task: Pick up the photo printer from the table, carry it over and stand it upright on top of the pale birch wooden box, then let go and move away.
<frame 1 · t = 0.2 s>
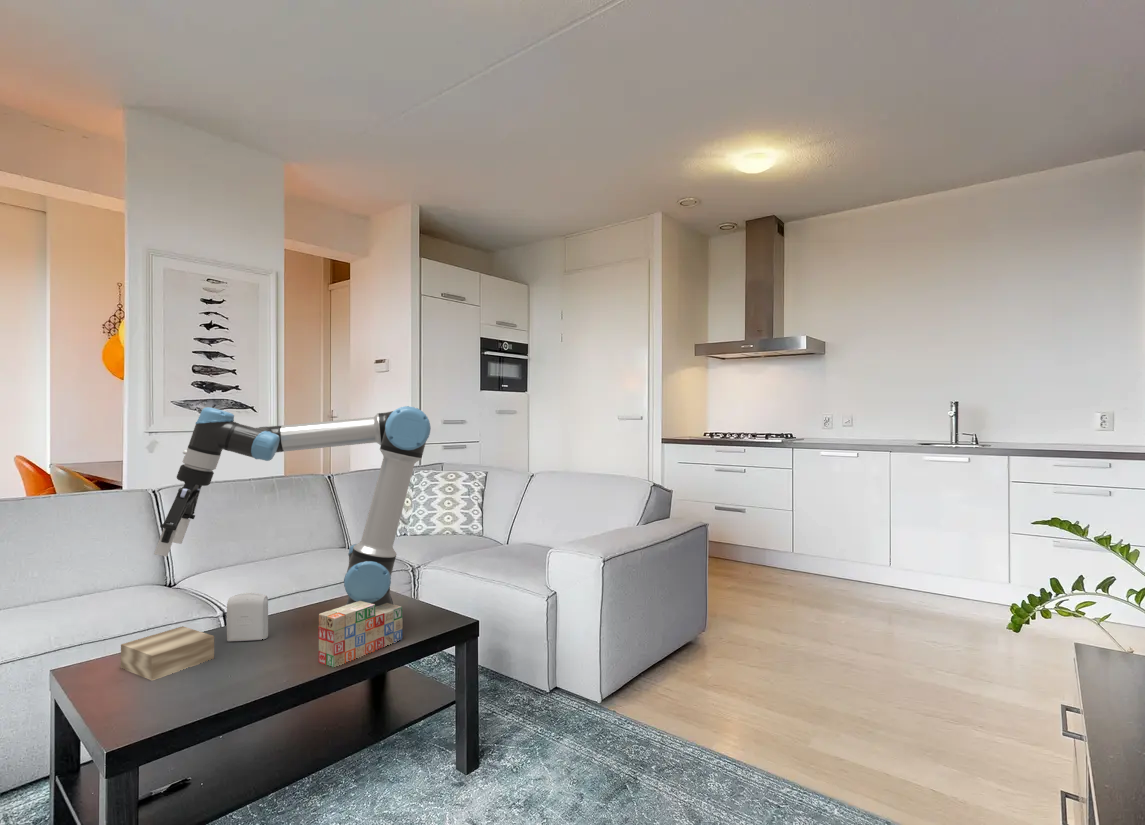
hand: (168, 548, 148), 27 cm above the table, tool tilted 15°, fingers open, 13 cm apart
stack of blocks: (362, 652, 152), on the table
birch box: (168, 664, 144), on the table
photo printer: (247, 639, 160), on the table
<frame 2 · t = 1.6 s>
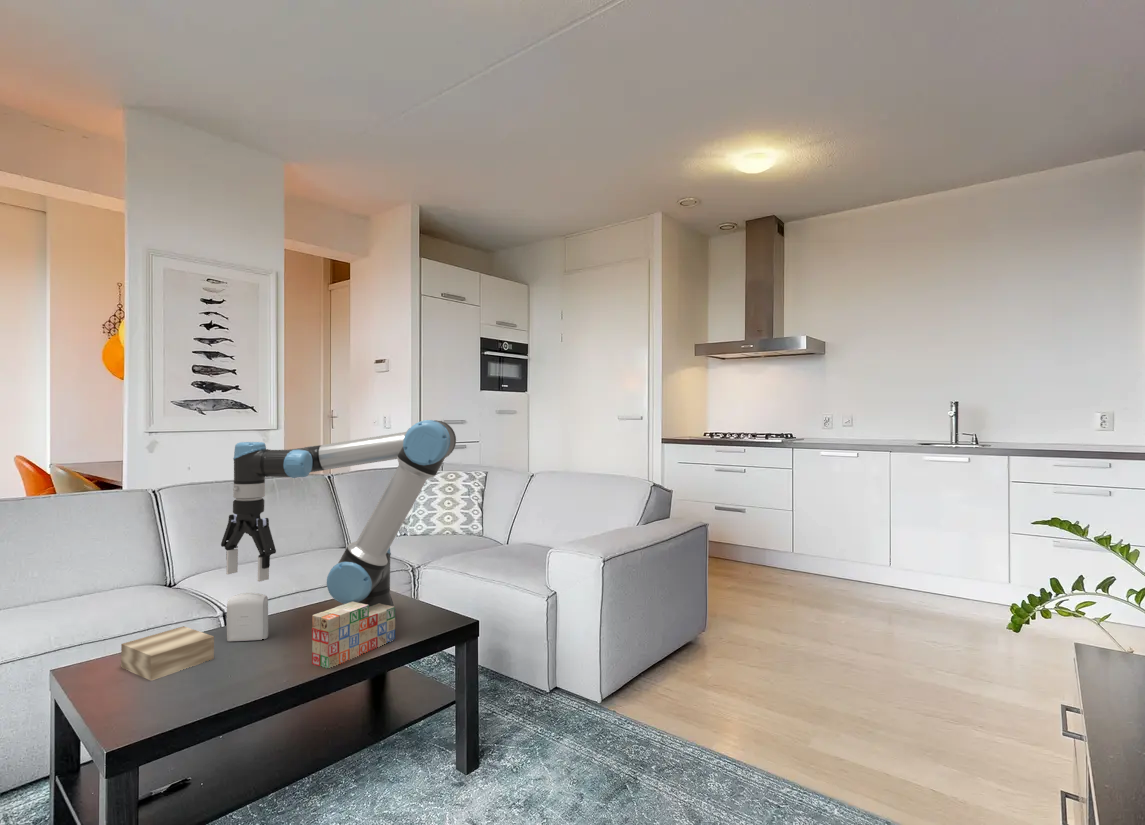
hand: (247, 576, 160), 17 cm above the table, tool pointing down, fingers open, 13 cm apart
stack of blocks: (355, 652, 152), on the table
everything else where it was.
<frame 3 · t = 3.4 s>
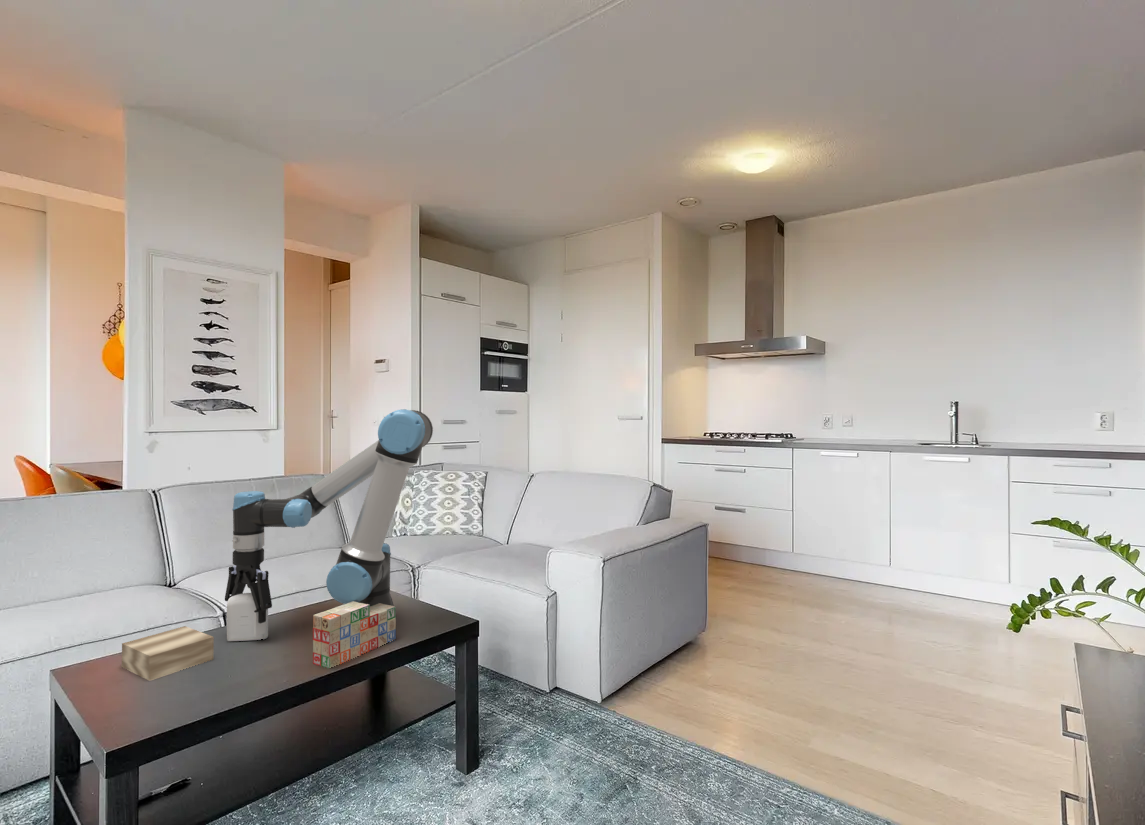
hand: (247, 631, 160), 2 cm above the table, tool pointing down, fingers closed on photo printer, 9 cm apart
photo printer: (247, 639, 160), on the table, touching gripper
everything else where it was.
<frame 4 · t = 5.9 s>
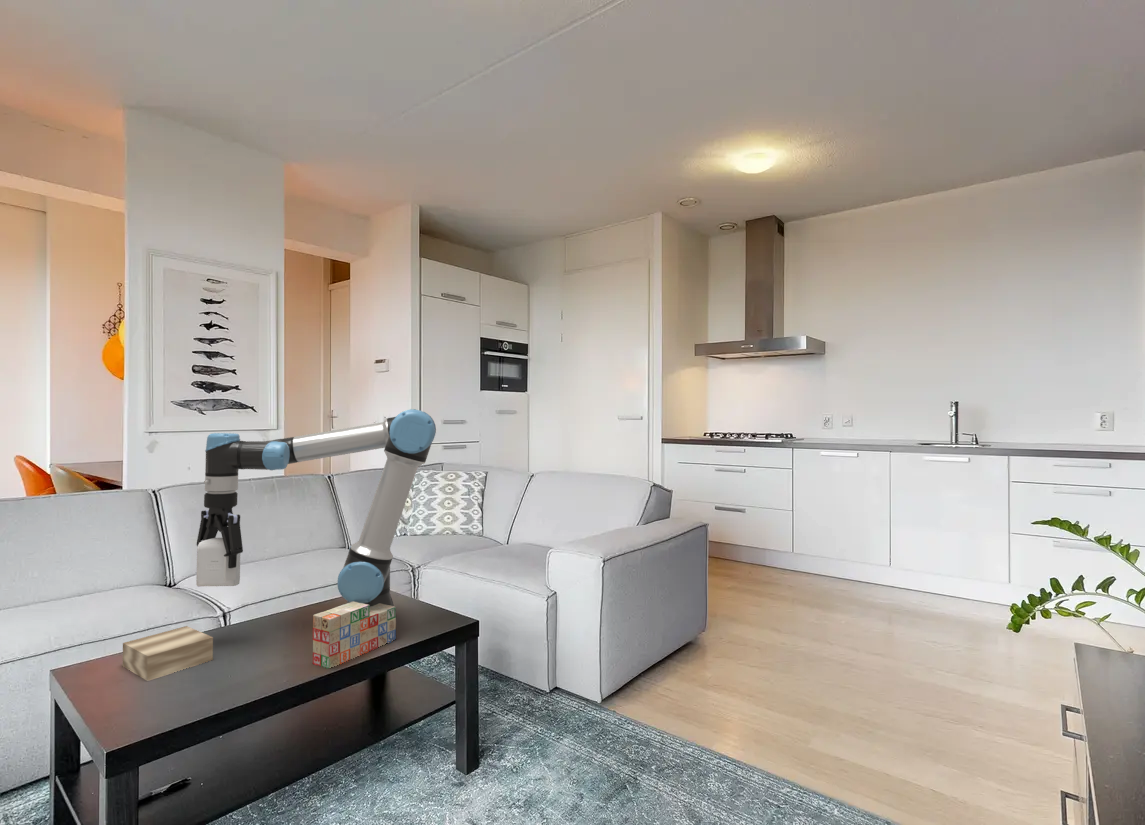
hand: (218, 577, 154), 18 cm above the table, tool pointing down, fingers closed on photo printer, 9 cm apart
photo printer: (218, 586, 154), point 16 cm above the table, touching gripper
everything else where it was.
when the fingers open (10 cm above the table, at t = 8.6 s): photo printer drops 2 cm, resting on birch box.
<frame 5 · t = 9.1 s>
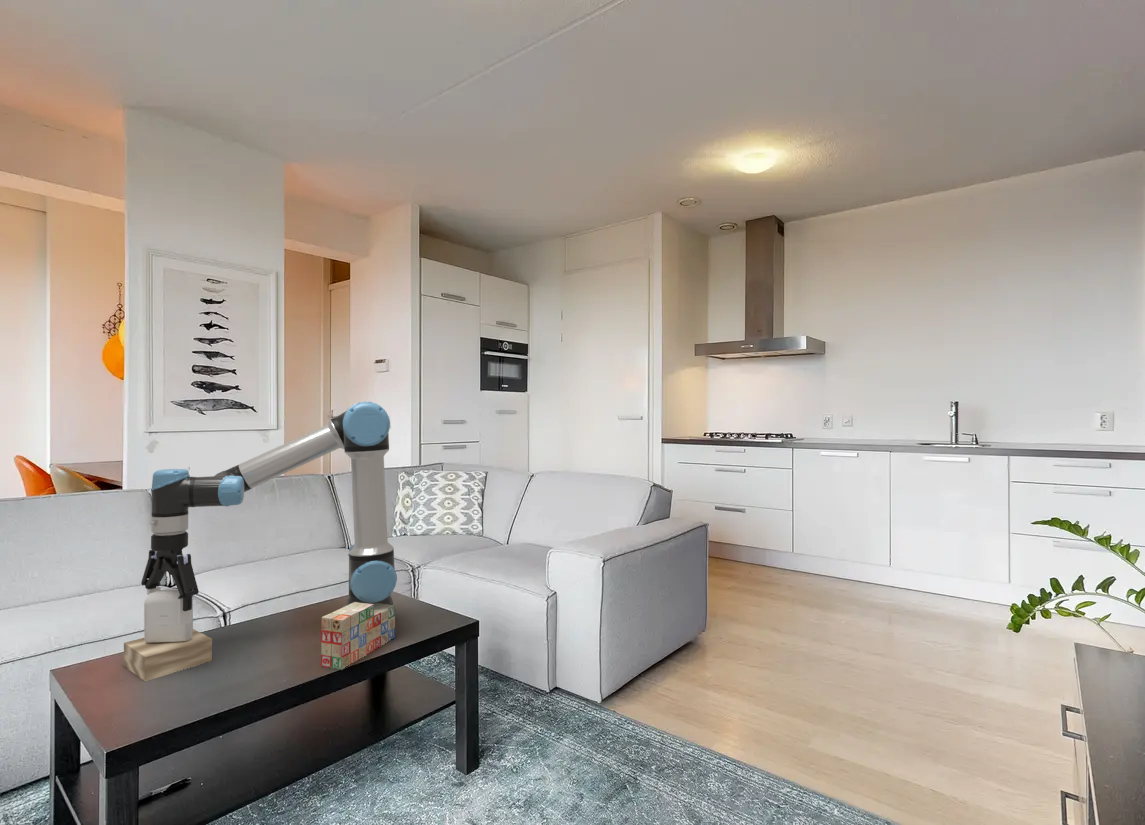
hand: (168, 619, 144), 11 cm above the table, tool pointing down, fingers open, 13 cm apart
stack of blocks: (360, 653, 152), on the table
birch box: (168, 665, 144), on the table, touching photo printer
photo printer: (168, 640, 144), point 5 cm above the table, touching birch box
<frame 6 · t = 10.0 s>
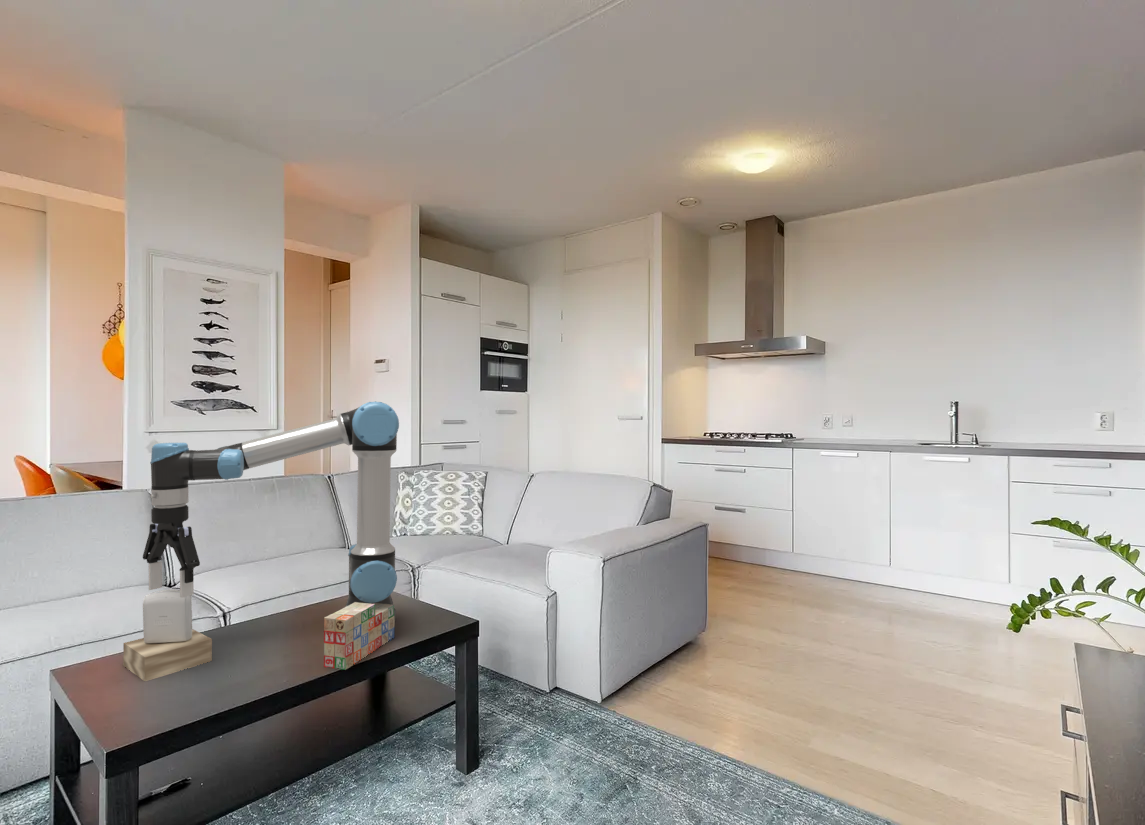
hand: (170, 592, 144), 17 cm above the table, tool pointing down, fingers open, 13 cm apart
birch box: (167, 665, 144), on the table
photo printer: (168, 641, 144), point 5 cm above the table
everything else where it was.
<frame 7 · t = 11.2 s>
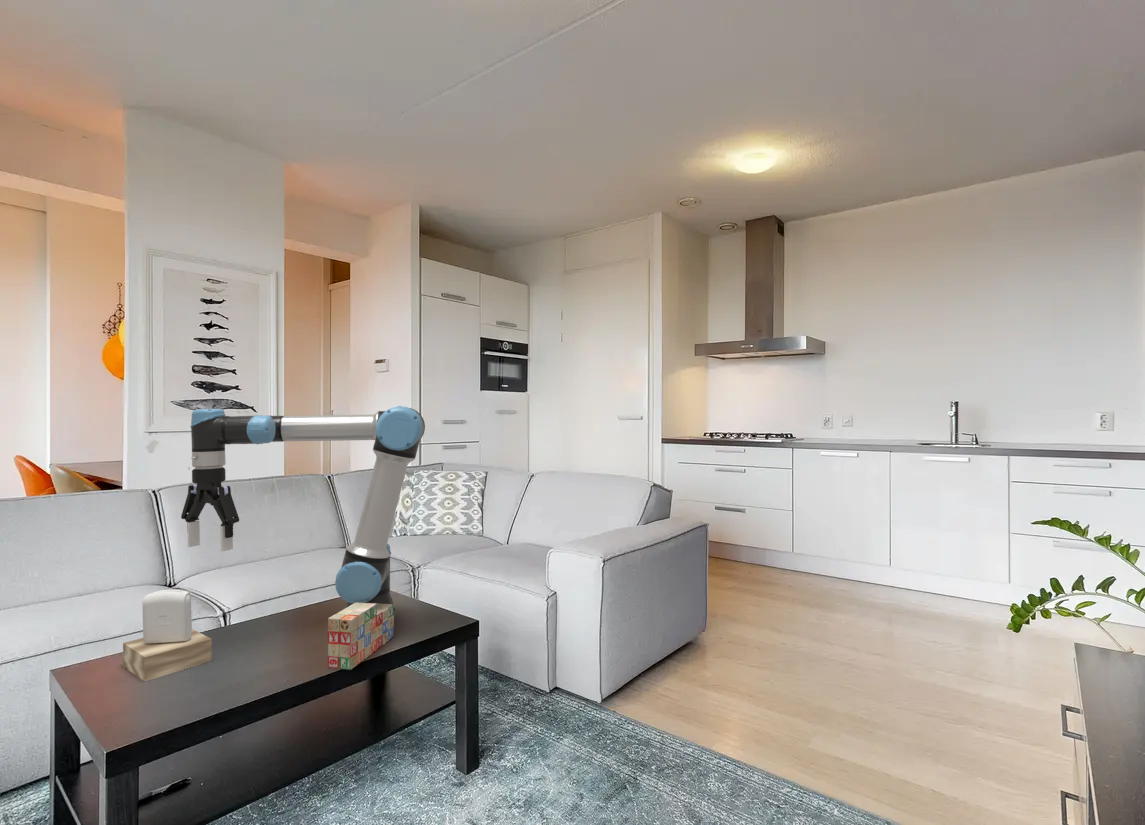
hand: (210, 548, 155), 26 cm above the table, tool pointing down, fingers open, 13 cm apart
birch box: (167, 665, 144), on the table, touching photo printer
photo printer: (167, 641, 143), point 5 cm above the table, touching birch box
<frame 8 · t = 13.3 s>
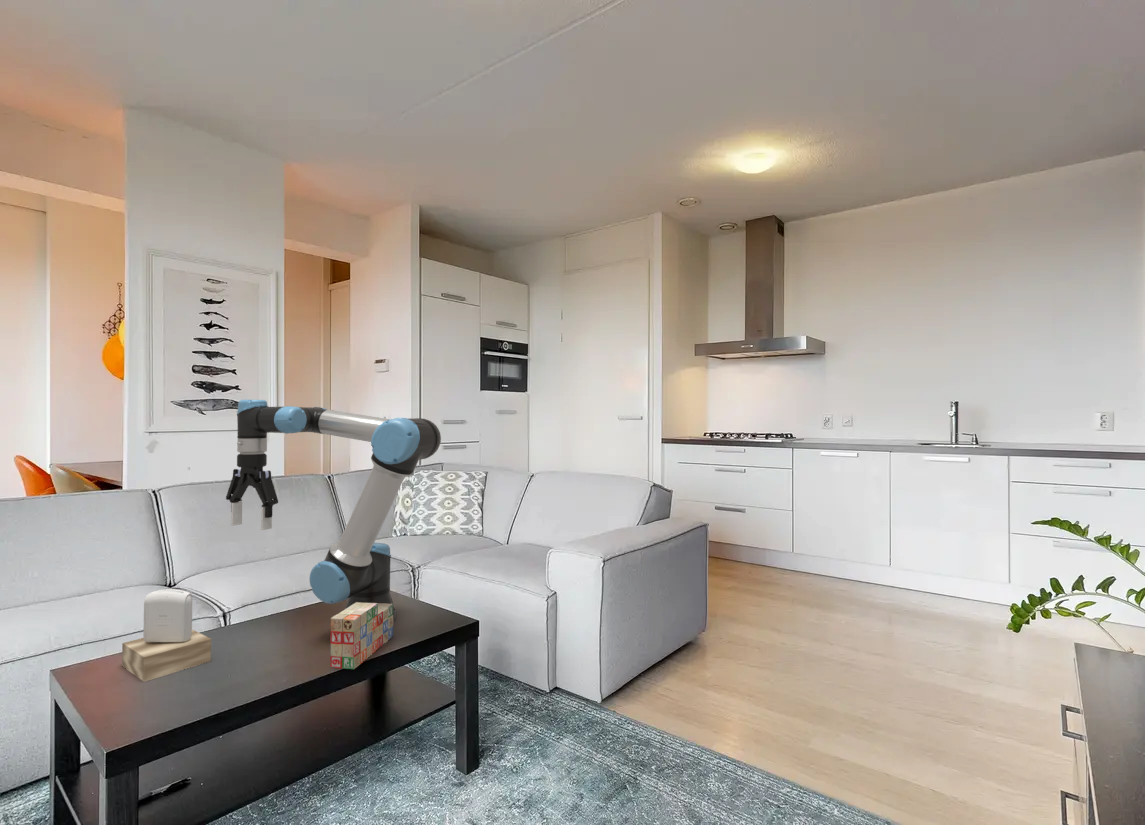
hand: (251, 527, 169), 29 cm above the table, tool pointing down, fingers open, 13 cm apart
at the end: photo printer inside the target area on the birch box (0.2 cm from its centre), point 6.1 cm above the birch box's base; photo printer tilted 4°; the gripper is holding nothing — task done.
